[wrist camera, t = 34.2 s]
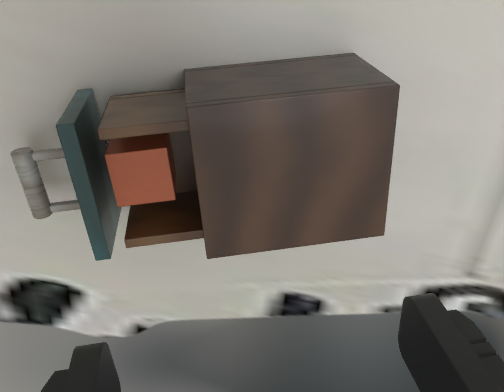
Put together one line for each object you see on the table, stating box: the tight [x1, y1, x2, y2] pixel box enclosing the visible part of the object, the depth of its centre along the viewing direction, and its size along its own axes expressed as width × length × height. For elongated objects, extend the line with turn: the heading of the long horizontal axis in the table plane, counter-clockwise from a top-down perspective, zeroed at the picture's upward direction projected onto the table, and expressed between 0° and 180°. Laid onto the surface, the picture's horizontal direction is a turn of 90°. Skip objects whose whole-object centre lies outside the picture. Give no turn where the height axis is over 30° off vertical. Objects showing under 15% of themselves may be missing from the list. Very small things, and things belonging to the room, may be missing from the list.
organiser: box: [184, 53, 400, 259], centre depth 38 cm, size 15×13×10 cm
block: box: [105, 133, 176, 207], centre depth 37 cm, size 5×5×5 cm
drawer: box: [11, 89, 204, 261], centre depth 37 cm, size 18×11×8 cm, turn 93°
